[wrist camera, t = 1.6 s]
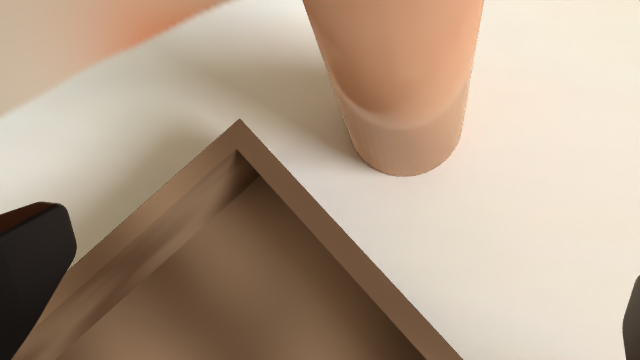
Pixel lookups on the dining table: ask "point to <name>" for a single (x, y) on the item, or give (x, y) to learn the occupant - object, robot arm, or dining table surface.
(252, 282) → the tray
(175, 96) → the dining table surface
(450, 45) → the canister
